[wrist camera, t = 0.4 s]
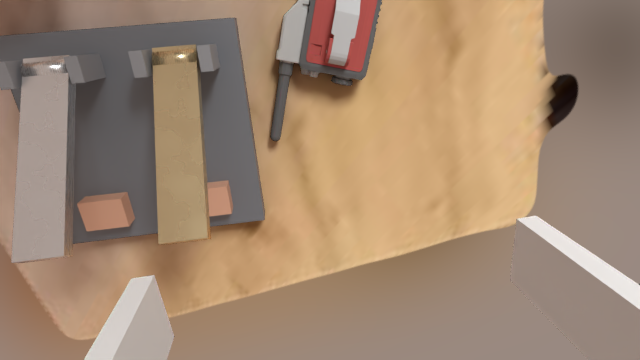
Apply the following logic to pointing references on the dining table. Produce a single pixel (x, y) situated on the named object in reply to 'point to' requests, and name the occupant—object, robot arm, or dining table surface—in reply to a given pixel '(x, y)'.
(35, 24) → the dining table surface
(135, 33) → the mount plate
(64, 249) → the steel strap
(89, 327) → the dining table surface
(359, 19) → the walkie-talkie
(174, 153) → the brass strap
